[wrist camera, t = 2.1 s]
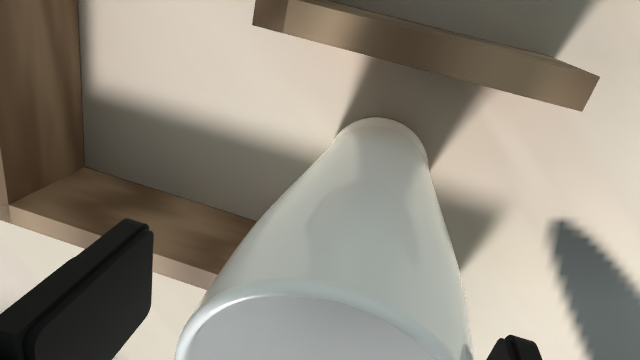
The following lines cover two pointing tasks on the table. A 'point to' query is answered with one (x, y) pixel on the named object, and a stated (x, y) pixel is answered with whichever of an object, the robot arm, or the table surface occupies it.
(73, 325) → the robot arm
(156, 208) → the angular wooden frame
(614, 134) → the table surface
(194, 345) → the white cup
